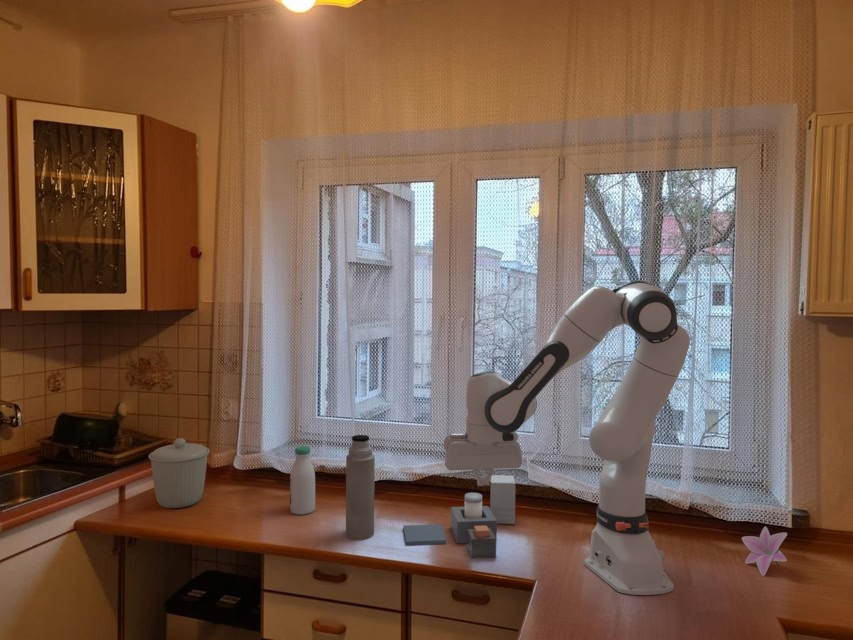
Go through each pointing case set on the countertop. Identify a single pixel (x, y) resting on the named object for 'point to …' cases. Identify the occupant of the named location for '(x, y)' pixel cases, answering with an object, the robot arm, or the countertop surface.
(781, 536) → the lily
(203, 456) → the canister
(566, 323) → the robot arm
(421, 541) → the mat
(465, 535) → the housing
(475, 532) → the plunger
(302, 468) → the milk bottle
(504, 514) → the supplement box
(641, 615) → the countertop surface
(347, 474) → the thermos bottle
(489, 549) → the frame
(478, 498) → the cylinder
